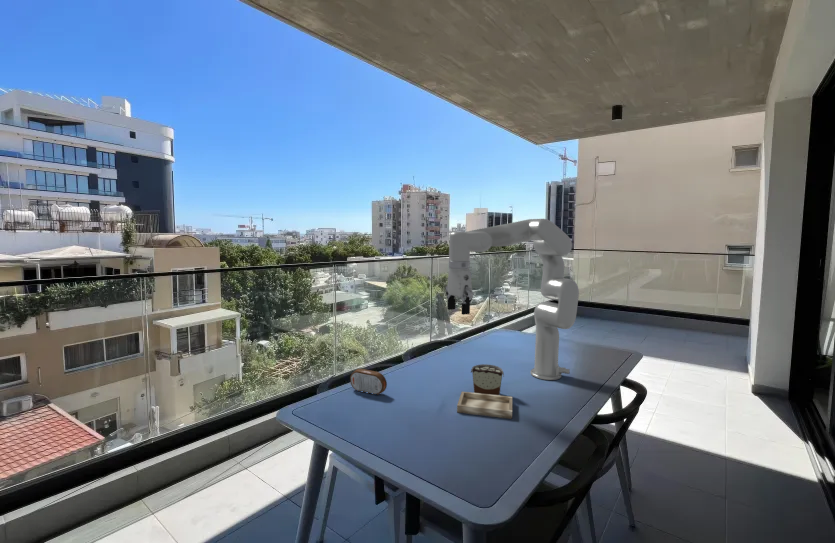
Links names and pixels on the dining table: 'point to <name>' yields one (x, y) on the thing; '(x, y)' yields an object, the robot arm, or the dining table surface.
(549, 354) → the robot arm
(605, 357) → the dining table surface
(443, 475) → the dining table surface
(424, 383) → the dining table surface
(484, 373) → the food container
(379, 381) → the tin
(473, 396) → the holder tray
